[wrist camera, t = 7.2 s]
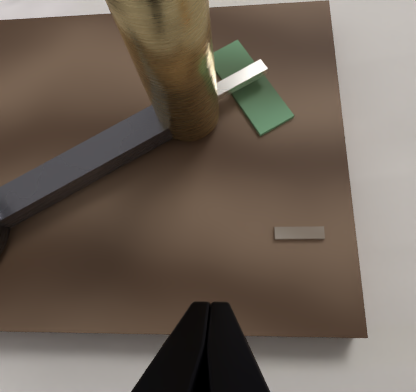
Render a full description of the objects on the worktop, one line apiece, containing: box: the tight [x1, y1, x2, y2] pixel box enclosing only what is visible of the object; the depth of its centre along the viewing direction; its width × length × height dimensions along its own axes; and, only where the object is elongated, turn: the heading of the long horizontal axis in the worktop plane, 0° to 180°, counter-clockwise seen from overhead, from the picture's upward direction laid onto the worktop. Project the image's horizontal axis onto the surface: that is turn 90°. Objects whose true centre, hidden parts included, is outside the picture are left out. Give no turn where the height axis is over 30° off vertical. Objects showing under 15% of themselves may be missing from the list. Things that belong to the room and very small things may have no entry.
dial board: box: [0, 1, 368, 338], centre depth 17 cm, size 16×19×2 cm
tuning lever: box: [0, 0, 268, 255], centre depth 10 cm, size 4×17×10 cm, turn 120°
